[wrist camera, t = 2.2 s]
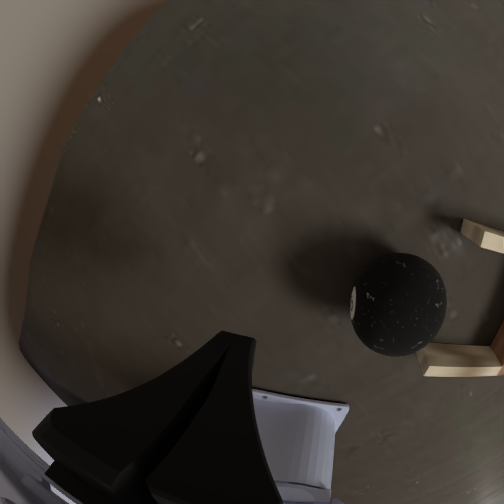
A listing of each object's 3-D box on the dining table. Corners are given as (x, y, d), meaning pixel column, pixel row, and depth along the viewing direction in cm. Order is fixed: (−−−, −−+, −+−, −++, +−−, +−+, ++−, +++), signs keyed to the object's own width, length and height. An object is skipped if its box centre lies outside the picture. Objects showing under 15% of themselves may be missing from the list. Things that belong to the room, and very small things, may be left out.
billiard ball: (417, 319, 17) (440, 373, 12) (342, 318, 19) (345, 376, 13) (434, 243, 15) (474, 281, 10) (351, 238, 17) (364, 277, 11)
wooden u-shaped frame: (415, 351, 18) (423, 376, 16) (463, 218, 14) (484, 230, 12) (491, 354, 17) (503, 375, 14) (538, 244, 13) (558, 257, 10)
